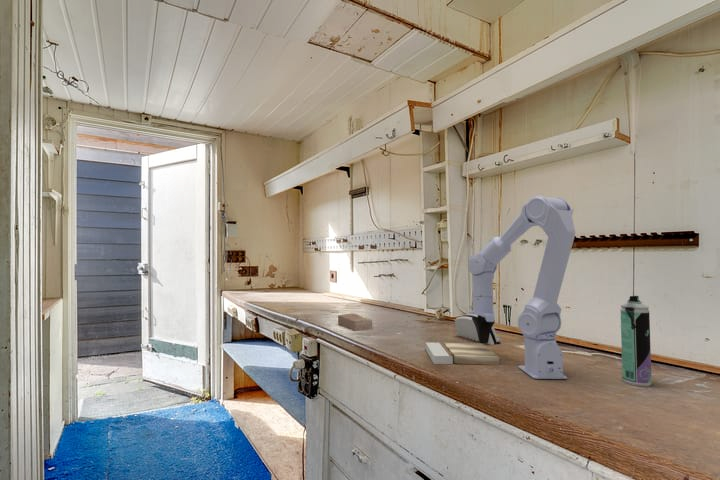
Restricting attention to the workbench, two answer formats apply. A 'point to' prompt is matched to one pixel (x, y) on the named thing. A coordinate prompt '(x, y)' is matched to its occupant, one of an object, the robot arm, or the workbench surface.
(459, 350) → the brass metal plate
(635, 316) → the spray can
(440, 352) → the board
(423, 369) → the workbench surface
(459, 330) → the grey curved block
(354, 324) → the brick
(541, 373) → the robot arm
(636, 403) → the workbench surface
